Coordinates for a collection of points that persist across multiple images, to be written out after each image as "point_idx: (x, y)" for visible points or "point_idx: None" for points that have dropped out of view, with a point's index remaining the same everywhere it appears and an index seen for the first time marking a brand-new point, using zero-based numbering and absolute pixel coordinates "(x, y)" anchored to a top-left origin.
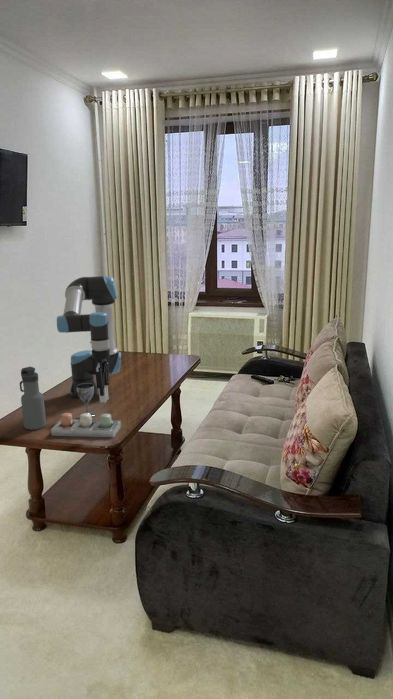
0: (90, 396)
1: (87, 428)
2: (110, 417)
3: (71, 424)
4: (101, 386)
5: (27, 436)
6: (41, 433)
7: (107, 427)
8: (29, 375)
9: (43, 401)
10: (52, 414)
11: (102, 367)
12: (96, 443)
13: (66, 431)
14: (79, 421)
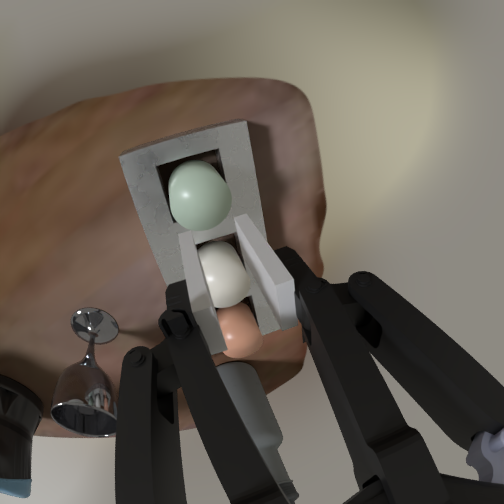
0: (86, 370)
1: None
2: (199, 170)
3: (235, 305)
4: (382, 289)
5: (287, 351)
6: (265, 341)
7: (213, 167)
8: (294, 499)
9: None
10: None
11: (459, 491)
12: (302, 156)
13: None
14: None
